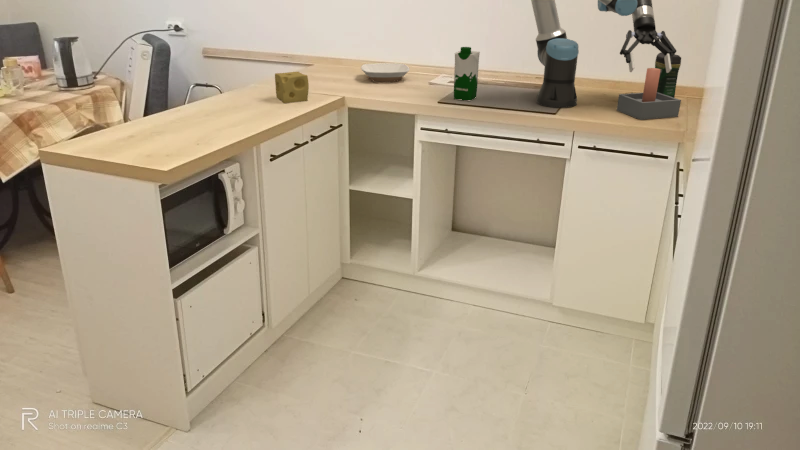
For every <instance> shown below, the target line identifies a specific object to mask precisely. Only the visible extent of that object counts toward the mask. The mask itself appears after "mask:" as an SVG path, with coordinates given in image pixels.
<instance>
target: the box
mask: <svg viewBox="0 0 800 450" xmlns="http://www.w3.org/2000/svg"><path fill="white" fill-rule="evenodd" d="M642 97H643V92H634V93H633V92H632V93H631V92H630V93H618V97H617V98H618V100H617V106H616V111H617V112H619V113H622V114H625V115H627V116H629V117H632V118H634V119H637V120H639V119H640V120H639V121H642V120H653V119H666V118H677V117H678V116H679V114H680V113H679V112H680V108H681V103H682V99H678V98H676V97H674V98H673V97H670V96H667V95H664V94H661V93H658V92H657V94H656V99H655V101H652V102H642Z"/></svg>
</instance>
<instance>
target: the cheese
mask: <svg viewBox="0 0 800 450" xmlns="http://www.w3.org/2000/svg"><path fill="white" fill-rule="evenodd" d="M274 82H275V83H274V84H275V95H276V99H278V101H281V102H282V103H283V104H291V103H301V102H308V101H309V100H308V99H309V98H308V97H309V87H310V86H309V85H310V84H309V77H308V75H307V74H304V73H302V72H300V71H289V72H279V73H278V72H277V73H274Z"/></svg>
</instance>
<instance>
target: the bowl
mask: <svg viewBox="0 0 800 450" xmlns="http://www.w3.org/2000/svg"><path fill="white" fill-rule="evenodd" d="M360 69H361V71H362V72H363V73H364V74H365V75H366V76H367V77H368V78H369V79H370V80H371V81H372V82H375V83H393V82H394V83H395V82H399V81H401V79H402V78H403V77H404V76H406V75H407V73H408V72H410V67H409V66H408V65H407V64H406V63H401V62H400V63H395V62H388V63H387V62H383V63H382V62H381V63H380V62H378V63H364V64H362V65H361V66H360Z"/></svg>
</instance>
